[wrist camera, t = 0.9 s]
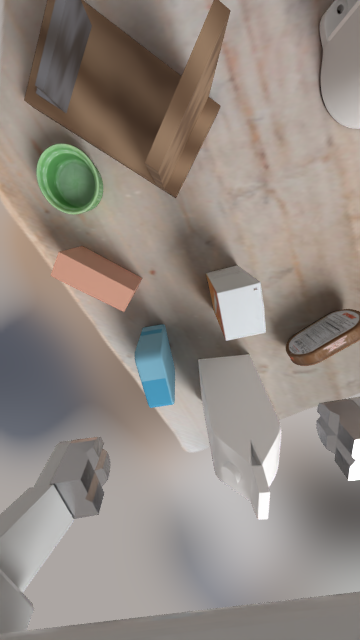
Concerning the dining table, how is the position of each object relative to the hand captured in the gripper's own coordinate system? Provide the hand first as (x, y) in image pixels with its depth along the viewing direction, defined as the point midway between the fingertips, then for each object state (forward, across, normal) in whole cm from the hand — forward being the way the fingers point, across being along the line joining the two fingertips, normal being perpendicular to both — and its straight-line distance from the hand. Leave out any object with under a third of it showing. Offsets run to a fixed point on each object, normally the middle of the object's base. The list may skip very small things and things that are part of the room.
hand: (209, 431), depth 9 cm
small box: (+37, -8, +5) cm, 38 cm away
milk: (+38, -6, +27) cm, 47 cm away
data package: (+38, +7, +16) cm, 42 cm away
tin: (+37, -25, +17) cm, 48 cm away
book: (+37, +14, -2) cm, 40 cm away
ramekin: (+37, +14, -16) cm, 43 cm away
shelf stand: (+37, +3, -24) cm, 44 cm away
